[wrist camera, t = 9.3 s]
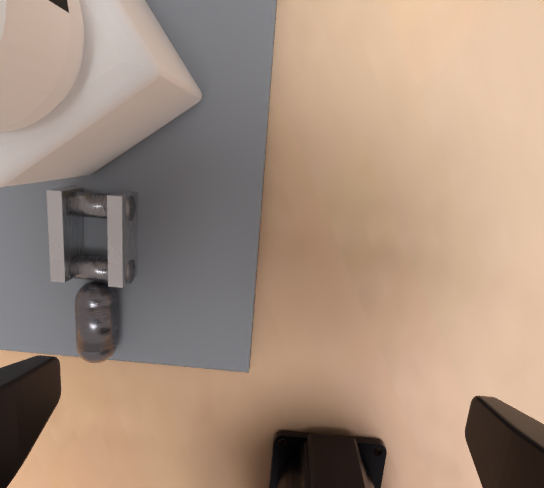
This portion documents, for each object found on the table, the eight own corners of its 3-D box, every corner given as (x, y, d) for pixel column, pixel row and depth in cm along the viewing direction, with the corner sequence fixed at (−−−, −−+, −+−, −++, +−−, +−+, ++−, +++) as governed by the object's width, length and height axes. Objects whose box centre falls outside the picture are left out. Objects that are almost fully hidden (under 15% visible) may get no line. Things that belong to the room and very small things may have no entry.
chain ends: (137, 354, 23) (123, 373, 21) (73, 348, 23) (53, 367, 21) (141, -320, 16) (121, -385, 14) (50, -326, 16) (17, -392, 14)
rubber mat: (249, 367, 23) (248, 372, 23) (-29, 342, 23) (-36, 346, 23) (300, -312, 16) (300, -327, 16) (-96, -338, 16) (-107, -353, 16)
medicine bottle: (-3, 46, 19) (-453, -112, 7) (118, -45, 18) (-187, -396, 6) (89, 177, 20) (-175, 217, 9) (206, 98, 19) (85, 23, 8)
